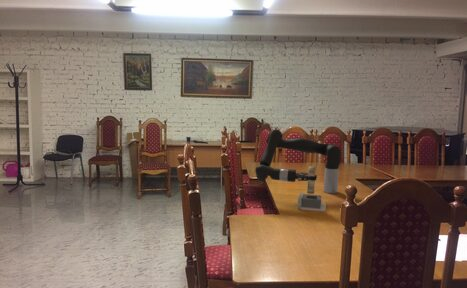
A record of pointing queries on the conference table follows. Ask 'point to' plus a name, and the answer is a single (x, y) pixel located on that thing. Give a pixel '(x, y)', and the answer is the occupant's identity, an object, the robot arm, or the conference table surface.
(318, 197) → the dowel dock
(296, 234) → the conference table surface
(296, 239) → the conference table surface
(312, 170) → the dowel
